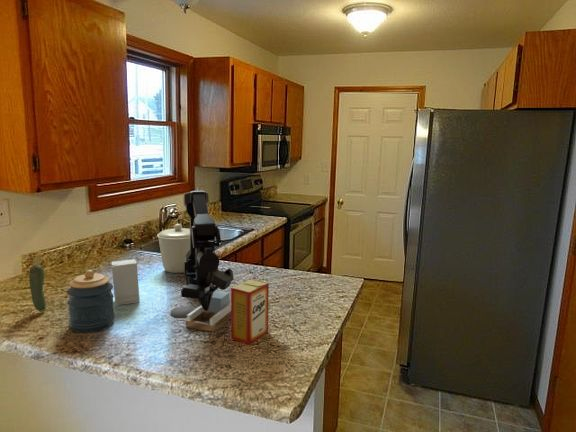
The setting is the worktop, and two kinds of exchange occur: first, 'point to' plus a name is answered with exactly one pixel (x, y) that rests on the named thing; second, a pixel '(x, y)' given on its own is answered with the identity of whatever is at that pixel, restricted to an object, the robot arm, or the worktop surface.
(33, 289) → the vegetable
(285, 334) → the worktop surface
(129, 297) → the skincare box
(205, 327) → the channel base plate
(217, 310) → the block
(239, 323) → the baking soda box
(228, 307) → the channel walls
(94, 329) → the canister
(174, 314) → the coaster
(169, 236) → the canister
